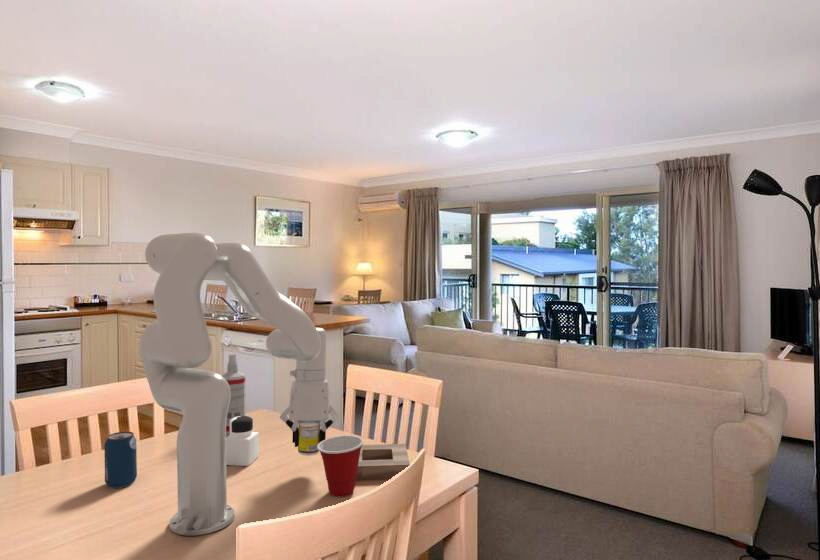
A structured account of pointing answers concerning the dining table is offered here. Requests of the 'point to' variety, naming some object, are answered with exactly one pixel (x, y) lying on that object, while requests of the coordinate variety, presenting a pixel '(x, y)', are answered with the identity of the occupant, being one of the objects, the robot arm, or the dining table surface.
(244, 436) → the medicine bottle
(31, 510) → the dining table surface
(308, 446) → the supplement bottle
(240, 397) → the spray bottle
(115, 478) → the soda can
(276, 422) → the dining table surface
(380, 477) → the square bottle holder
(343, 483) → the plastic cup
